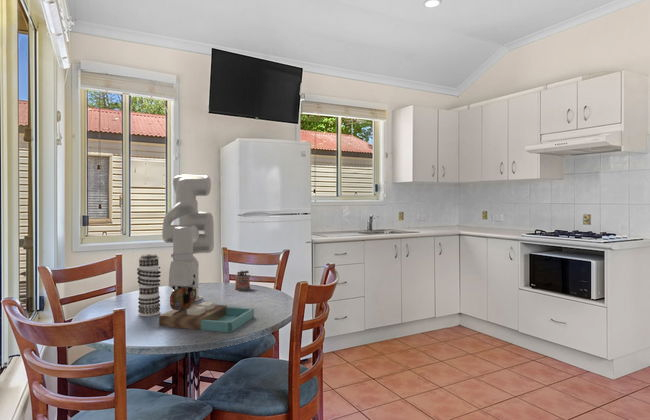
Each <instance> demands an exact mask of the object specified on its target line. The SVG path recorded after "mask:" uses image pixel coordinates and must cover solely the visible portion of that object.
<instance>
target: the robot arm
mask: <svg viewBox="0 0 650 420" xmlns="http://www.w3.org/2000/svg"><path fill="white" fill-rule="evenodd" d="M172 185H173V190H174V193H175V205H174V206H172V207H171V208H170V209H169V210H168V211H167V213H165V216H164V218H163V222H162V231H161V233H162V234H161V236H162V240H163V241H164V242H165V243H167V244H172V254H171V255H170V258H172V260H171V261H170V267H169V273H168V287H170V288H171V289H172V292H173V291H174V290H175V289H178V288H181V287H185V294H184V304H187V303H190V293H191V292H192V291H193V290H194V289H195V288H196V299H195V302H197V301H201V300H202V299H203V295H201V294H200V293H199V292H200V291H199V289H200V288H199V285H200V283H199V282H200V281H199V279H200V278H199V276H200V275H199V274H200V273H199V272H200V271H199V270H200V269H199V261H198V259H197V258H196V256H194V255H196V254H197V255H198V254H200V255H201V254H210V253H212V252H213V251H214V247H215V246H214V245H215V241H214V240H215V233H214V231H215V228H214V225H215V224H214V217H213V214H212V213H211V212H209V211H199V210H198V200H197V197H206V196H209V195H210V193H211V189H212V180H211V177H210V176H208V175H204V174H201V175H199V174H181V175H176V176H174V177H173V179H172ZM177 219H178V220H179V221H178V223H179V224H172V223H173V222H174V221H175V220H177ZM200 232H203V233H200ZM191 285H193V286H192V287H191ZM172 292H171V294H172ZM171 294H170V295H171Z"/></svg>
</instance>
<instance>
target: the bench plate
mask: <svg viewBox="0 0 650 420" xmlns="http://www.w3.org/2000/svg"><path fill="white" fill-rule="evenodd" d="M198 304H199V303H198V302H197V303H196V302H194V303H193V305H191V306H189V307H187V308H185V309H183V310H180V311H179V310H173V309H170V310H168V311H165V312H164V313H161V314H158V327H164V328H165V327H168V328H178V329H179V328H180V329H188V330H189V329H190V330H199V331H202V330H201V320H213V321H216V320H218V319H220V318H222V317H223V316H225V315H226V307H228V305H222V304H215V308H213V309H211V310H208V311H206V310H205V312H204V313H202V314H200V315H187V309H189V308H191V307H193V306H197V305H198Z"/></svg>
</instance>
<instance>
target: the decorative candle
mask: <svg viewBox="0 0 650 420" xmlns="http://www.w3.org/2000/svg"><path fill="white" fill-rule="evenodd" d="M159 259H160V257H159V256H158V255H157V254H156V253H145V254H142V255H141V256H140V257H139V258H138V268H136V271H137V272H136V273H137V275H138V276H137V280H138V281H137V283H138V286H137V287H138V288H139V291H138V298H137V300H138V306H137V308H138V309H137V311H138V316H140V317H152V316H153V317H154V316H157V315H160V313H161V311H160V310H161V303H160V302H161V300H160V298H161V295H160V288H159V287H160V285H161V283H160V282H161V279H160V278H161V275H160V274H161V273H162V272H161V270H160V269H161V266H160V264H159Z"/></svg>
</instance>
